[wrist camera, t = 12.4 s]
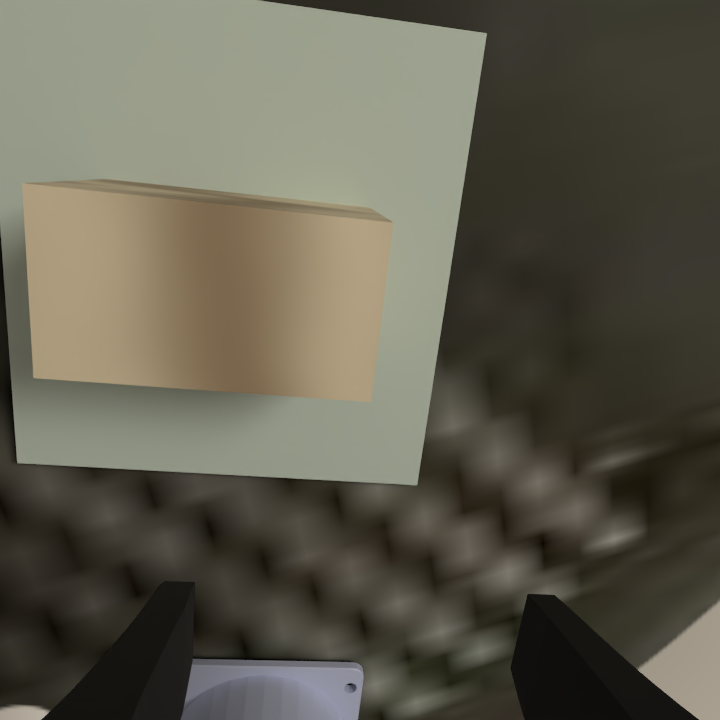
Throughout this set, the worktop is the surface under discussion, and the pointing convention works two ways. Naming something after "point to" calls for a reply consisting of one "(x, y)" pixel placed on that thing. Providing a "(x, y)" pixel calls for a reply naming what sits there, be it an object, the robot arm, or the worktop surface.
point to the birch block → (204, 289)
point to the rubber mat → (246, 176)
